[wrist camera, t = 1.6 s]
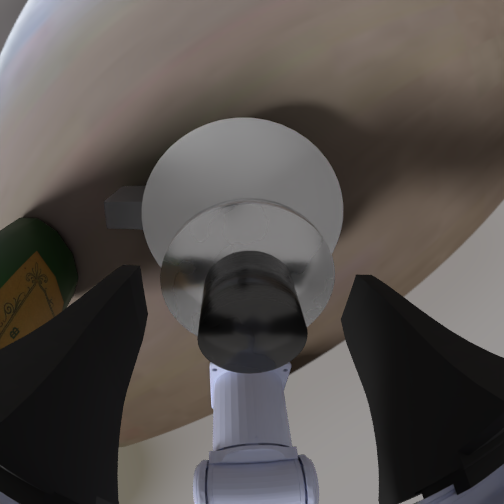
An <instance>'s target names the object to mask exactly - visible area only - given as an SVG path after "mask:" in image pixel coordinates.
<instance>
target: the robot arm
mask: <svg viewBox="0 0 504 504" xmlns="http://www.w3.org/2000/svg"><path fill="white" fill-rule="evenodd" d="M147 316H148V312H147V306H146V301H145V295H144V289H143V282H142V276H141V269H140V266H133V265H122V266H121V267H119V268H118V269H116V270H115V271H114V272H112V273H111V274H110V275H108V276H107V277H106V278H105V279H103V280H102V281H101V282H100V283H98V284H97V285H96V286H94V287H93V288H92V289H91V290H89V291H88V292H87V293H86V294H84V295H83V296H82V297H81V298H79V299H78V300H77V301H75V302H74V303H73V304H71V305H70V306H69V307H67V308H66V309H65V310H63V311H62V312H61V313H59V314H58V315H57V316H55V317H54V318H52V319H51V320H49V321H48V322H46V323H45V324H43V325H42V326H40V327H39V328H37V329H35V330H34V331H32V332H31V333H29V334H27V335H26V336H24V337H22V338H20V339H18V340H16V341H14V342H13V343H11V344H9V345H7V346H5V347H4V348H2V349H0V504H119V501H118V481H117V469H118V468H117V467H118V447H119V435H120V426H121V419H122V412H123V405H124V401H125V396H126V392H127V389H128V385H129V382H130V379H131V375H132V372H133V369H134V366H135V363H136V360H137V356H138V353H139V350H140V347H141V344H142V341H143V336H144V332H145V327H146V321H147ZM341 322H342V326H343V331H344V335H345V339H346V342H347V346H348V348H349V351H350V354H351V356H352V359H353V362H354V364H355V367H356V369H357V372H358V375H359V377H360V380H361V382H362V385H363V388H364V391H365V393H366V397H367V400H368V403H369V407H370V412H371V416H372V421H373V425H374V432H375V438H376V445H377V455H378V466H379V504H399V503H402V502H404V501H406V500H409V499H411V498H413V497H416V496H418V495H420V494H422V495H423V498H424V499H423V500H421V501H419V502H416V503H414V504H504V358H503V357H500V356H498V355H495V354H493V353H491V352H489V351H487V350H485V349H482V348H481V347H479V346H476V345H474V344H473V343H470V342H469V341H467V340H465V339H464V338H462V337H460V336H459V335H457V334H455V333H453V332H452V331H450V330H449V329H447V328H446V327H444V326H443V325H441V324H440V323H438V322H437V321H435V320H434V319H433V318H431V317H429V316H428V315H427V314H426V313H424V312H423V311H421V310H420V309H419V308H417V307H416V306H414V305H413V304H412V303H410V302H409V301H408V300H407V299H405V298H404V297H403V296H401V295H400V294H399V293H397V292H396V291H395V290H393V289H392V288H390V287H389V286H388V285H386V284H385V283H383V282H382V281H380V280H379V279H377V278H376V277H374V276H372V275H356V277H355V280H354V283H353V286H352V289H351V292H350V295H349V298H348V301H347V304H346V306H345V309H344V312H343V315H342V318H341ZM290 369H291V363H290V362H289V363H287V364H285V365H284V366H281V367H279V368H277V369H274V370H271V371H267V372H262V373H251V374H247V373H236V372H232V371H228V370H225V369H222V368H220V367H218V366H216V365H214V364H213V363H212V362H211V363H210V386H211V406H212V408H213V409H214V413H213V418H214V419H213V451H210V452H209V460H203V461H201V463H200V464H199V465H197V467H196V469H195V473H194V481H193V496H194V503H195V504H318V502H319V486H318V479H317V474H316V470H315V467H314V464H313V462H312V461H311V460H310V459H309V458H307V457H306V456H305V455H303V454H302V455H298V453H297V447H292V443H291V435H290V429H289V423H288V416H287V410H286V404H285V397H284V388H285V385H286V382H287V379H288V376H289V373H290Z"/></svg>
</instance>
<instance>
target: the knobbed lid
mask: <svg viewBox="0 0 504 504" xmlns="http://www.w3.org/2000/svg"><path fill="white" fill-rule="evenodd" d="M334 278H335V269H334V262H333V258H332V254H331V252H330V250H329V247H328V245H327V244H326V242H325V240H324V239H323V237H322V235H321V234H320V232H319V231H318V229H317V228H316V227H315V226H314V225H313V224H312V223H311V221H310V220H308V219H307V218H306V217H305V216H304V215H302V214H301V213H299V212H298V211H296V210H294V209H293V208H291V207H289V206H286V205H284V204H281V203H278V202H275V201H271V200H266V199H259V198H240V199H232V200H227V201H223V202H220V203H217V204H214V205H212V206H209V207H207V208H205V209H203V210H202V211H200V212H198V213H196V214H195V215H194V216H192V217H191V218H190V219H189V220H187V221H186V222H185V223H184V224H183V225H182V226H181V227H180V228H179V230H178V231H177V233H176V234H175V235H174V237H173V238H172V240H171V242H170V244H169V246H168V249H167V251H166V254H165V256H164V259H163V263H162V267H161V274H160V280H161V289H162V294H163V297H164V300H165V302H166V304H167V306H168V308H169V310H170V312H171V313H172V314H173V316H174V317H175V318H176V319H177V320H178V322H179V323H180V324H181V325H182V326H184V327H185V328H186V329H187V330H189V331H190V332H192V333H193V334H195V335H196V336H198V345H199V348H200V350H201V352H202V354H203V355H204V356H205V357H206V358H207V359H208V360H209V361H210V362H212V363H213V364H214V365H216V366H218V367H220V368H222V369H225V370H228V371H232V372H236V373H247V374H251V373H262V372H267V371H271V370H274V369H277V368H279V367H281V366H284V365H285V364H287V363H289V362H290V361H292V360H293V359H294V358H295V357H296V356H297V355H298V354H299V353H300V352H301V351H302V349H303V348H304V346H305V343H306V341H307V327H308V326H309V325H310V324H311V323H312V322H313V321H314V320H315V319H316V318H317V317H318V316H319V315H320V313H321V312H322V311H323V309H324V308H325V306H326V304H327V302H328V301H329V298H330V296H331V293H332V290H333V286H334Z"/></svg>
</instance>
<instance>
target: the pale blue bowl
mask: <svg viewBox="0 0 504 504" xmlns="http://www.w3.org/2000/svg"><path fill="white" fill-rule="evenodd" d="M240 198H259V199H266V200H271V201H275V202H278V203H281V204H284V205H286V206H289V207H291V208H293V209H294V210H296V211H298V212H299V213H301V214H302V215H304V216H305V217H306V218H307V219H308V220H310V221H311V223H312V224H313V225H314V226H315V227H316V228H317V229H318V231H319V232H320V234H321V235H322V237H323V239H324V240H325V242H326V244H327V245H328V247H329V250H330V252H331V254H332V253H333V251H334V248H335V246H336V244H337V242H338V239H339V235H340V232H341V228H342V222H343V199H342V193H341V189H340V185H339V182H338V179H337V177H336V175H335V172H334V170H333V168H332V167H331V165H330V163H329V162H328V160H327V159H326V157H325V156H324V155H323V154H322V153H321V151H320V150H319V149H318V148H317V147H316V146H315V145H314V144H313V143H311V142H310V141H309V140H308V139H307V138H305V137H304V136H302V135H301V134H299V133H298V132H296V131H294V130H292V129H290V128H288V127H286V126H284V125H281V124H279V123H275V122H272V121H269V120H265V119H258V118H248V117H236V118H229V119H222V120H218V121H215V122H211V123H208V124H206V125H203V126H201V127H199V128H197V129H194V130H193V131H191V132H189V133H188V134H186V135H185V136H183V137H182V138H180V139H179V140H178V141H177V142H175V143H174V144H173V145H172V146H171V147H170V148H169V149H168V150H167V151H166V152H165V153H164V154H163V155H162V157H161V158H160V159H159V161H158V162H157V164H156V165H155V167H154V168H153V170H152V172H151V174H150V177H149V179H148V181H147V184H146V186H122V187H121V188H119V189H118V190H117V191H116V192H115V193H113V194H112V195H111V196H110V197H109V198H108V199H106V200H105V201H104V208H105V217H106V225H107V228H112V229H143V231H144V235H145V238H146V242H147V244H148V247H149V249H150V251H151V253H152V255H153V257H154V258H155V260H156V261H157V263H158V264H159V266H160V267H162V263H163V259H164V256H165V254H166V251H167V249H168V246H169V244H170V242H171V240H172V238H173V237H174V235H175V234H176V233H177V231H178V230H179V228H180V227H181V226H182V225H183V224H184V223H185V222H186V221H187V220H189V219H190V218H191V217H192V216H194V215H195V214H196V213H198V212H200V211H202V210H203V209H205V208H207V207H209V206H212V205H214V204H217V203H220V202H223V201H227V200H232V199H240Z"/></svg>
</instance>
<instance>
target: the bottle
mask: <svg viewBox="0 0 504 504" xmlns="http://www.w3.org/2000/svg"><path fill="white" fill-rule="evenodd" d="M77 281H78V275H77V271H76V267H75V263H74V259H73V254H72V253H71V251H70V250H69V249H68V247H67V246H66V244H65V243H64V241H63V240H62V238H61V237H60V235H59V234H58V232H57V231H55V230H54V229H52V228H51V227H49V226H48V225H46V224H45V223H44V222H42V221H41V220H39V219H38V218H19V219H17V220H16V221H14V222H13V223H11V224H10V225H8V226H7V227H5V228H4V229H2V230H1V231H0V349H2V348H4V347H5V346H7V345H9V344H11V343H13V342H14V341H16V340H18V339H20V338H22V337H24V336H26V335H27V334H29V333H31V332H32V331H34V330H35V329H37V328H39V327H40V326H42V325H43V324H45V323H46V322H48V321H49V320H51V319H52V318H54V317H55V316H57V315H58V314H59V313H61V312H62V311H63V310H65V309H66V308H67V306H68V304H69V302H70V300H71V298H72V296H73V294H74V291H75V287H76V284H77Z"/></svg>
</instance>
